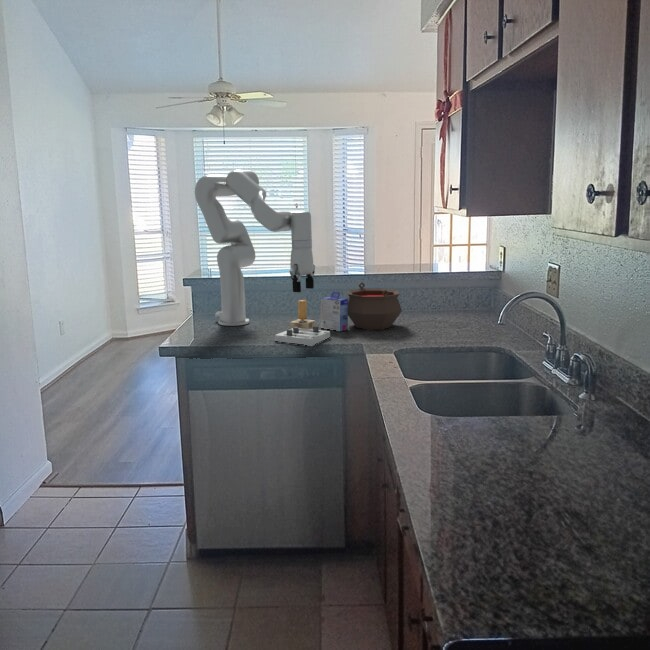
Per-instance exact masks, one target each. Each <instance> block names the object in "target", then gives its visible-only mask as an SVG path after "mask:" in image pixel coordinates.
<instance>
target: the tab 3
mask: <svg viewBox="0 0 650 650" xmlns="http://www.w3.org/2000/svg"><path fill="white" fill-rule="evenodd" d="M319 330H320V328H319V325H315V326H314V327H313V331H310V332H317V333H320V332H321V331H319Z"/></svg>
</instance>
